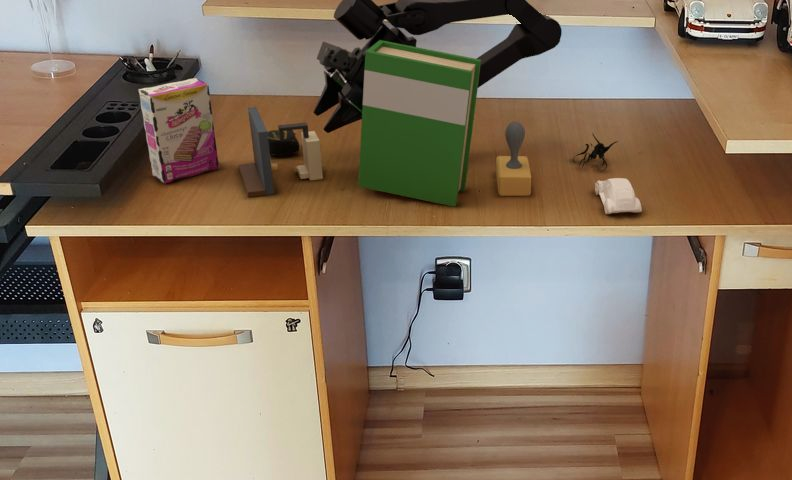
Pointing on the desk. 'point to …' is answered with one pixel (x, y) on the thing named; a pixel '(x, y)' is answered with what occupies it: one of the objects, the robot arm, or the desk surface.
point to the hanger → (307, 151)
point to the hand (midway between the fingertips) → (320, 122)
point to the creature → (596, 152)
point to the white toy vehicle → (617, 196)
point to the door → (258, 160)
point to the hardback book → (417, 121)
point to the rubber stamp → (513, 165)
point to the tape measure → (282, 143)
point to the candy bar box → (179, 129)
